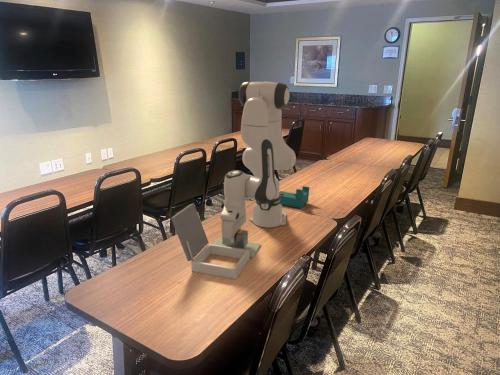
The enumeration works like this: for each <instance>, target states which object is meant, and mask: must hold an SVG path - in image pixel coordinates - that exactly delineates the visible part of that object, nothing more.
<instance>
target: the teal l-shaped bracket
mask: <svg viewBox="0 0 500 375" xmlns="http://www.w3.org/2000/svg"><path fill="white" fill-rule="evenodd" d="M295 190H296V192H295V193H294V192H288V191H284V190H283V191H282V190H279V194H280V203H281V205H282V206H288V207H293V208H297V209H302V208H304V207H305V204H307V203H309V196H310V186H306V185H303V186H302V188H301V189H299V188H296V189H295Z"/></svg>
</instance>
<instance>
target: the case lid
mask: <svg viewBox="0 0 500 375" xmlns="http://www.w3.org/2000/svg"><path fill="white" fill-rule="evenodd" d="M170 219H171V222H172V224H173V226H174V229H175V233H176V234H177V237H178V239H179V242H180V245H181V247H182V250H183V252H184V254H185V257H186V260H187V262H190V261H191V262H192V260H191V257H190V253H189V250H188V247H187V244H186V241H188V243H189V246H190V249H191V253H192V256H193V259H194V258H195V257H196V256H197V255H198V254H199V253H200V252H201V251H202V250H203V249H204V248H205V247H206V246H207V245H208V244H210V243H209V240H208V237H207V235H206V232H205V229H204V227H203V223H202V221H201V219H200V216H199V213H198V211H197V208H196V205H195V202H193V203H191V204H189V205H187V206H186V207H184V208H183V209H182V210H180V211H179V212H178V213H176V214H175V215H173V216H171V218H170Z"/></svg>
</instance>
